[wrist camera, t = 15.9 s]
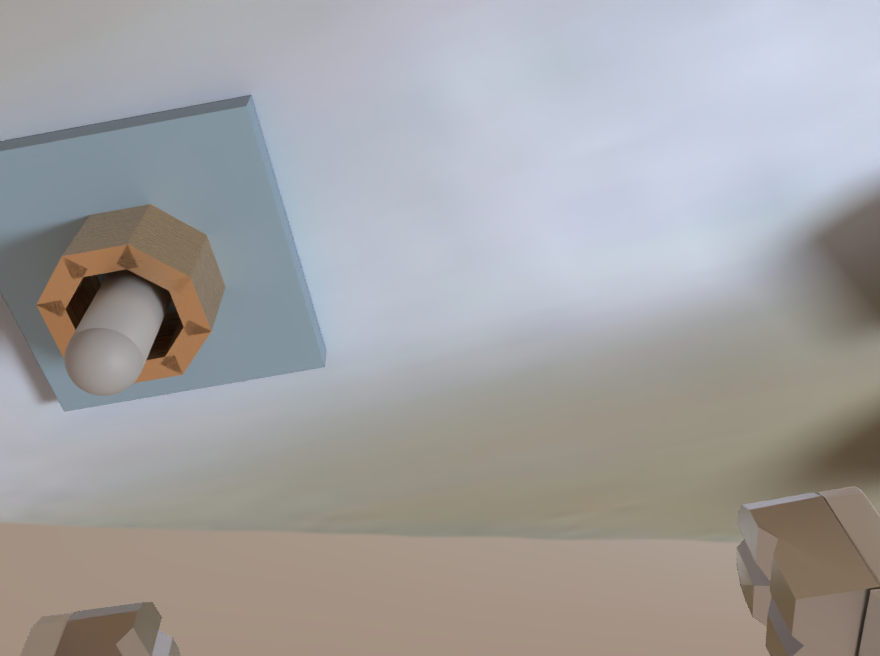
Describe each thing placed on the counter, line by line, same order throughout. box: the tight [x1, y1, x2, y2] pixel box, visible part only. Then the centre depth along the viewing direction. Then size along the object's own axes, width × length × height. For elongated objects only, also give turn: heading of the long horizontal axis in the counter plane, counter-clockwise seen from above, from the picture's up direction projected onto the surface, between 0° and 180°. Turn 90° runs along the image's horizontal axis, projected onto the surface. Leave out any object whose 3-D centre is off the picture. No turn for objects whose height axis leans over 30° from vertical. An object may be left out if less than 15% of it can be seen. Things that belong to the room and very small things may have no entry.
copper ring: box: [36, 204, 226, 383], centre depth 38 cm, size 7×7×4 cm
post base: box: [0, 95, 326, 412], centre depth 37 cm, size 14×14×10 cm
